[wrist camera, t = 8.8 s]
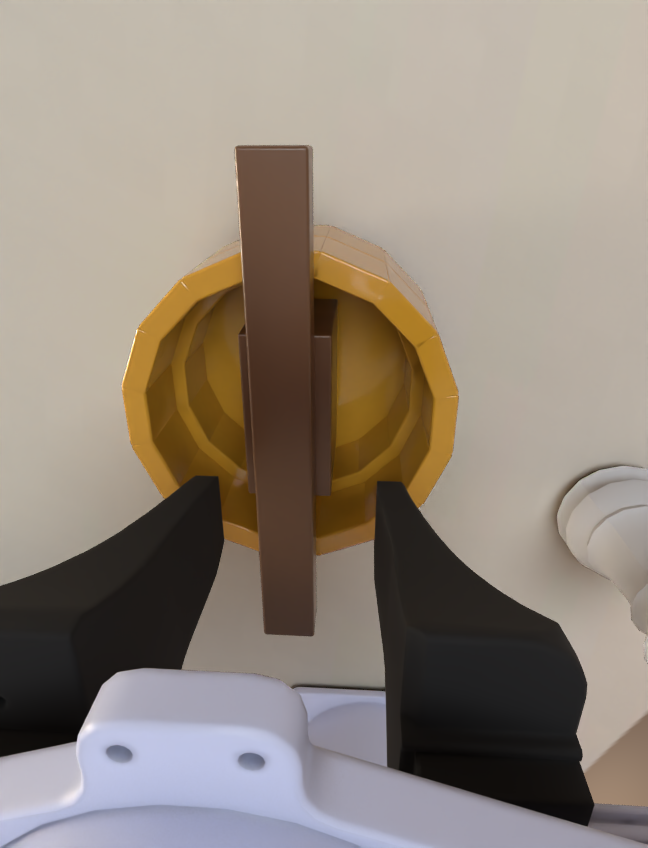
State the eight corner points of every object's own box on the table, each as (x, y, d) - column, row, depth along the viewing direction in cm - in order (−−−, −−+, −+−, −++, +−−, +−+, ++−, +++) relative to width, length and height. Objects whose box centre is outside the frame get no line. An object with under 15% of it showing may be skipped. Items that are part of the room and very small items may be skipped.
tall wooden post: (335, 537, 23) (328, 638, 18) (272, 535, 23) (249, 634, 18) (339, 145, 17) (330, 145, 12) (253, 144, 17) (212, 145, 12)
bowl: (424, 471, 23) (441, 560, 18) (192, 464, 24) (147, 549, 19) (446, 223, 19) (475, 252, 14) (164, 222, 20) (97, 249, 15)
